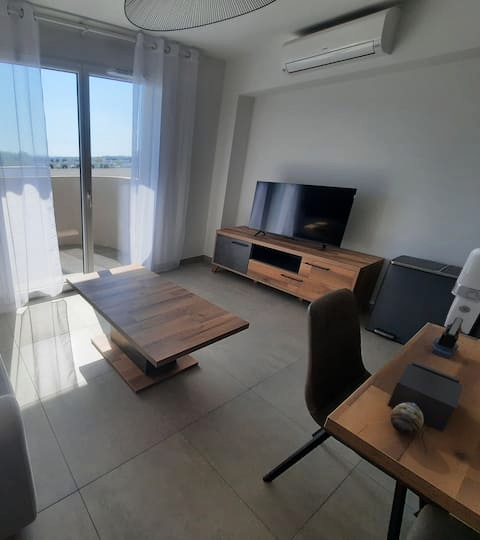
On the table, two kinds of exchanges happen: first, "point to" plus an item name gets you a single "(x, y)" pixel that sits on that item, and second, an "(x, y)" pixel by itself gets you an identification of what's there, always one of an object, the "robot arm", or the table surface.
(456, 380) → the drawer
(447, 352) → the block
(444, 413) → the dark grey box
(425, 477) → the table surface
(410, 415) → the seashell
